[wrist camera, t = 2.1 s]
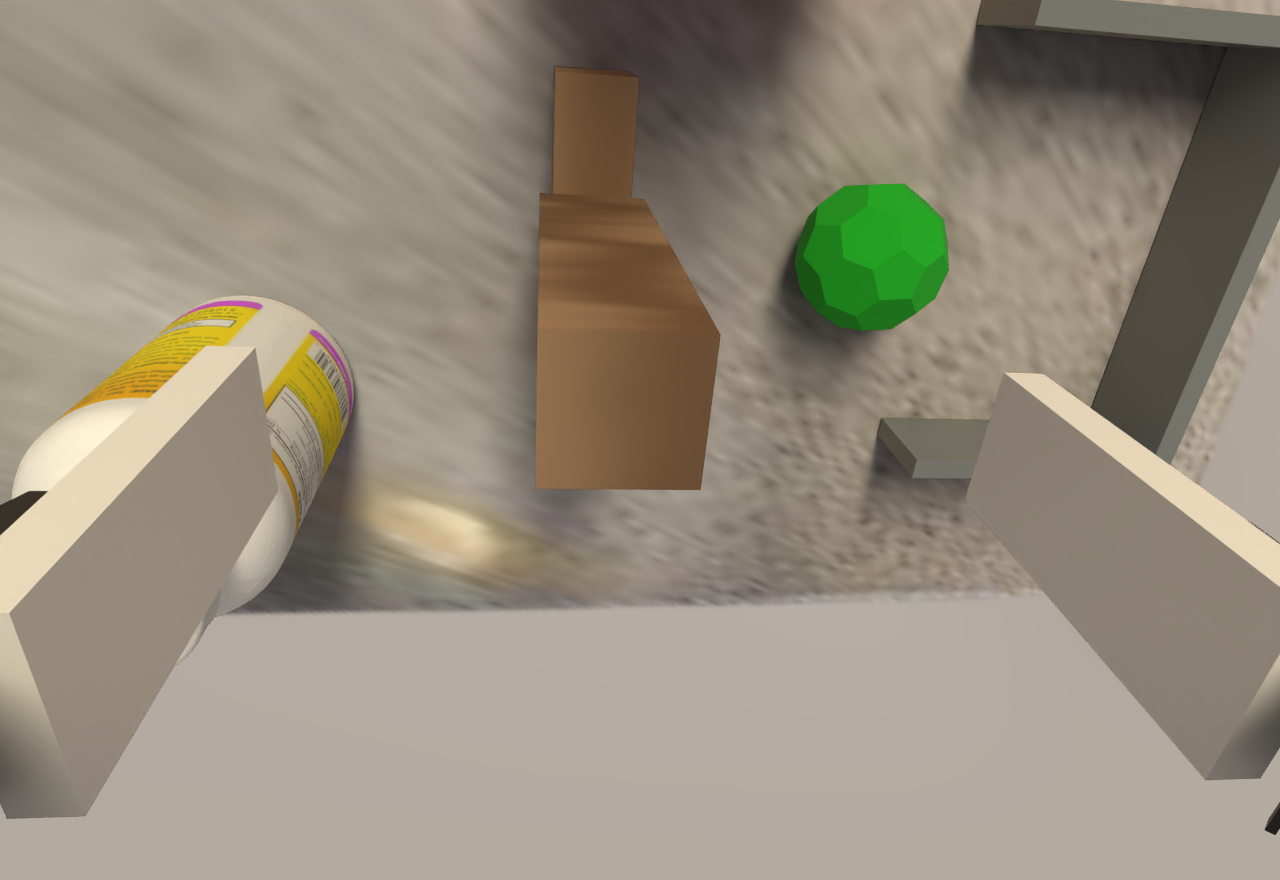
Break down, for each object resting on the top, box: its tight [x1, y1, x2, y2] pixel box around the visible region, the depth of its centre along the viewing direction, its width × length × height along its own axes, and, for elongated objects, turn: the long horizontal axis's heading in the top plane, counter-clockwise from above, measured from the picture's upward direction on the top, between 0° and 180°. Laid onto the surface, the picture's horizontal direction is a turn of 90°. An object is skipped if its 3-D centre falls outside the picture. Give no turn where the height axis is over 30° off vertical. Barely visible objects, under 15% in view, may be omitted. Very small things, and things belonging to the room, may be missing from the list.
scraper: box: [535, 66, 720, 490], centre depth 21 cm, size 3×10×15 cm, turn 176°
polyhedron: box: [795, 184, 949, 331], centre depth 27 cm, size 5×5×5 cm
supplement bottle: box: [12, 296, 354, 666], centre depth 23 cm, size 7×7×13 cm
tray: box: [878, 0, 1280, 479], centre depth 28 cm, size 10×16×4 cm, turn 176°
